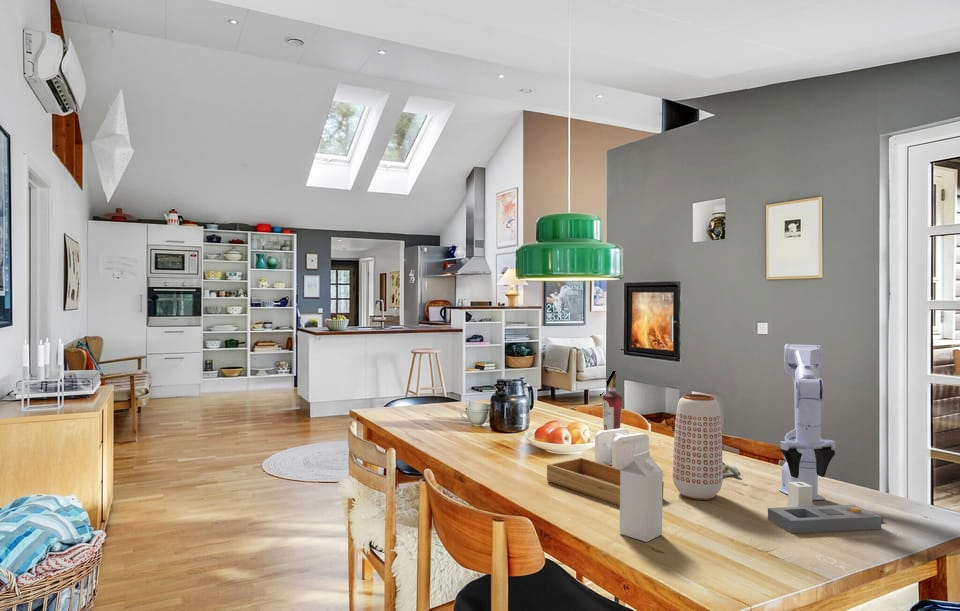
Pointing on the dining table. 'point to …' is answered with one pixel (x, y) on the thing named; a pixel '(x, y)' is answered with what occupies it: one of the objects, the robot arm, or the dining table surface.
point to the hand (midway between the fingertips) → (807, 476)
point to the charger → (799, 494)
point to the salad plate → (729, 470)
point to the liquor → (612, 407)
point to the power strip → (824, 518)
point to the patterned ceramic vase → (698, 447)
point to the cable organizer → (619, 447)
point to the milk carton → (641, 498)
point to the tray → (588, 478)
